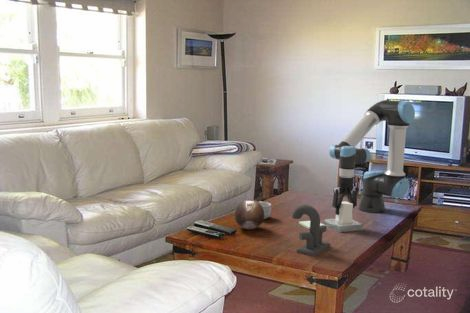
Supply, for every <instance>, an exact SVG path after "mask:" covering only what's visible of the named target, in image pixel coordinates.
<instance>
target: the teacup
mask: <svg viewBox="0 0 470 313" xmlns="http://www.w3.org/2000/svg"><path fill="white" fill-rule="evenodd" d="M257 202H258V203H259V204H260V205H261V206H262V207H263V210H264V219H263V220H266V219H269V217H270V216H271V214H272V213H271V212H272V203H270V202H268V201H261V200H260V201H257Z"/></svg>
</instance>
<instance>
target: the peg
mask: <svg viewBox="0 0 470 313" xmlns="http://www.w3.org/2000/svg"><path fill="white" fill-rule="evenodd" d="M340 209H341V219H340V221H337V220H335V221H336V222H338V223H340V224H350V223H352V219H353V213H354V208H353V204H352V203H349V202H348V200H347V201H346V200H345V201H343V200H342V203H341V206H340Z"/></svg>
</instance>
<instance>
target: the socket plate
mask: <svg viewBox="0 0 470 313" xmlns="http://www.w3.org/2000/svg"><path fill="white" fill-rule="evenodd" d="M335 220H336V217H335V218H334V217H333V218H324V223H323V224H324V225H325V226H326V227H328V228H330V229H332V230H334V231H336V232H338V233H347V232H355V231H356V232H357V231H363V230H364V229H363V228H364V224H363V223H361V222H359V221H357V220H354V219H353V218H352V223H350V224H340V223H338V222H336V221H335Z"/></svg>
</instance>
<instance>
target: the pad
mask: <svg viewBox="0 0 470 313" xmlns="http://www.w3.org/2000/svg"><path fill="white" fill-rule="evenodd" d="M298 224H299V225H301V226H303V227H304V228H306V229H308V230H310V220H302V221H301V220H300V221H298ZM324 224H325V223H322V222H320V226H321V225H324ZM324 226H326V225H324Z"/></svg>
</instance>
